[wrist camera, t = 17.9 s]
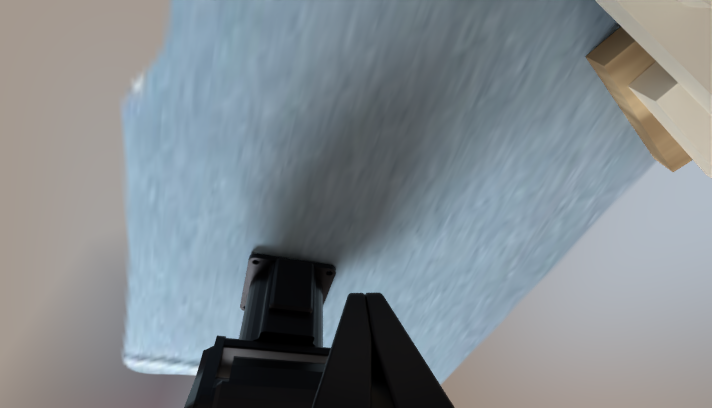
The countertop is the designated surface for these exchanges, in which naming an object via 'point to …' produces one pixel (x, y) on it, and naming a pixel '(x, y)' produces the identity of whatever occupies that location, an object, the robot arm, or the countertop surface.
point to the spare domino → (617, 70)
